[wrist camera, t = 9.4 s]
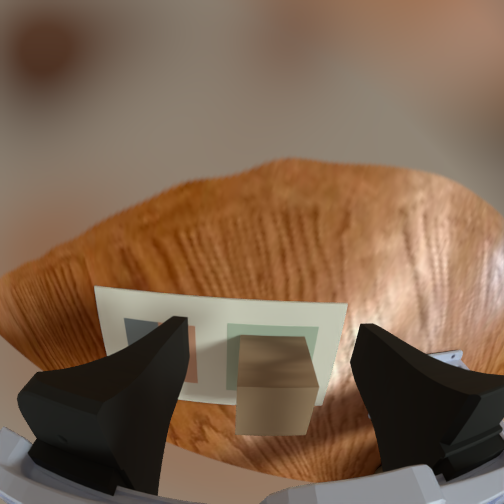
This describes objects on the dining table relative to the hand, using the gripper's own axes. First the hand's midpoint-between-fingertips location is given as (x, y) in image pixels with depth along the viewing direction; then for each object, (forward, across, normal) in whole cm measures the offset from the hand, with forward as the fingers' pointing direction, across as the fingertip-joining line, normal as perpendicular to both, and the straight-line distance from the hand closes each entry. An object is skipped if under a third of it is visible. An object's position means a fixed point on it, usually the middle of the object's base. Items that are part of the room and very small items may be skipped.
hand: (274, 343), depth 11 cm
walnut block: (+9, -1, +8) cm, 12 cm away
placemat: (+9, +4, +8) cm, 13 cm away
